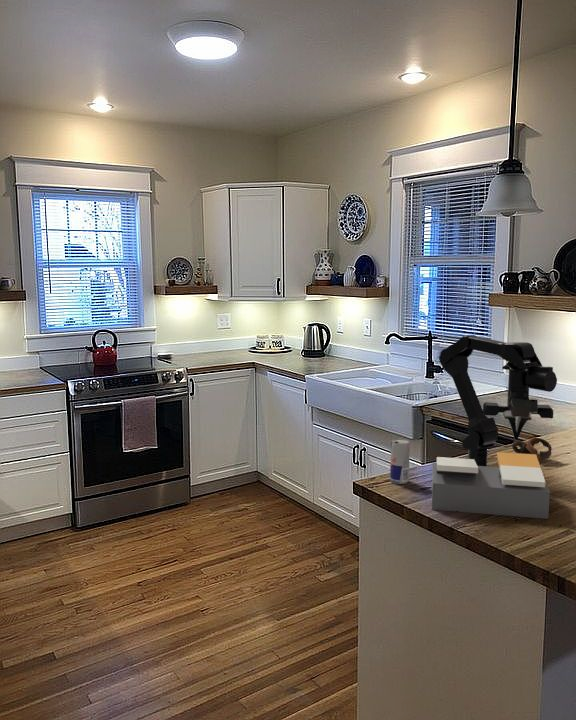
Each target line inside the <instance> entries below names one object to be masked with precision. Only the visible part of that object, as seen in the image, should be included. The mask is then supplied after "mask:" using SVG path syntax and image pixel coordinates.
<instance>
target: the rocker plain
mask: <svg viewBox="0 0 576 720" xmlns="http://www.w3.org/2000/svg"><path fill="white" fill-rule="evenodd" d="M436 463H437V471H451V472H466V473H478V466H477V464H476V462H475V460H474V459H468V458H460V457H459V458H458V457H442V456H437V457H436Z"/></svg>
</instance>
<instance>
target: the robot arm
mask: <svg viewBox="0 0 576 720" xmlns="http://www.w3.org/2000/svg"><path fill="white" fill-rule="evenodd" d="M474 351H477V352H483V353H486V354H490V355H494V356H498V357H500V358H501V359H503V360H504V361H506V362H507V363H506V364H505V365H502V367H501V368H502V370H506V371H508V382H507V383H508V384H507V400H506V402H507V403H506V406H505V405H499V404H498V402H491V401H490V402H487V401H486V402H484V403H483V405H481V402H480V400H479V398H478V395H477V393H476V391H475V387H474V385H473V383H472V380H471V378H470V375H469V372H468V370H469V357H470V356H472V354H473V352H474ZM438 360H439V364H440V365H441V366H442V368H443V370H444V371H445V372H446V373H447V374H448V375H449V376H450V377H451V378H452V380H453V383H454V385H455V388H456V391H457V393H458V396H459V398H460V401H461V403H462V405H463V409H464V411H465V413H466V417H467V419H468V423H467V432H468V436H466V437H465V438H464V439H463V440H462V441H461V444H462V447H463V449H465V450H467V451H468V452H467V459H474V460H475V462H476V464H477V466H487V467H490V466H489V465H488V452H489V451H488V449H489V448H492V449H493V448H494V446H495V443H496V442H497V440H498V437H499V432H498V431H499V430H500V429H499V428H498V426H497V425H496V424H497V423H496V421H495V418H494V417H492V416H497V415H498V414H499V413H502V415H503V418H504V419H505V420H508V422H509V425H510V429H511V431H512V432H511V433H512V436H513V438H514V440H519V437H520V434H521V433H522V430H523V428H524V426H525V424H526V423H527V422H528V421H532V419H533V418H532V417H531V416H532V415H538V416H539V417H540V418H542V419H554V409H553V407H552V406H550V405H549V404H538V403H539V401H538V399H533V398H532V399H530V389H533V390H537V391H543V392H549V393H551V392H553V391H554V390H555V389H556V386H557V384H558V378H557V376H556V373H555V372H554V367H552V366H543V364H542V363H541V360H540V359H539V357H538V355H537V353H536V351H535V348H534V347H533V344H532V343H529V342H527V341H526V342H525V341H522V342H518V341H516V342H505V341H501V340H496V339H491V338H487V337H481V336H476V335H475V334H469V335H463V336H462V337H461V338H459V339H458V340H457V341H455V342H453V343H452V344H450V345H449V346H447V347H446V348H443V349H442V350H441V351H440V353H439V356H438ZM488 416H491V417H488ZM516 419H517V420H516ZM516 421H517V422H516Z"/></svg>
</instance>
